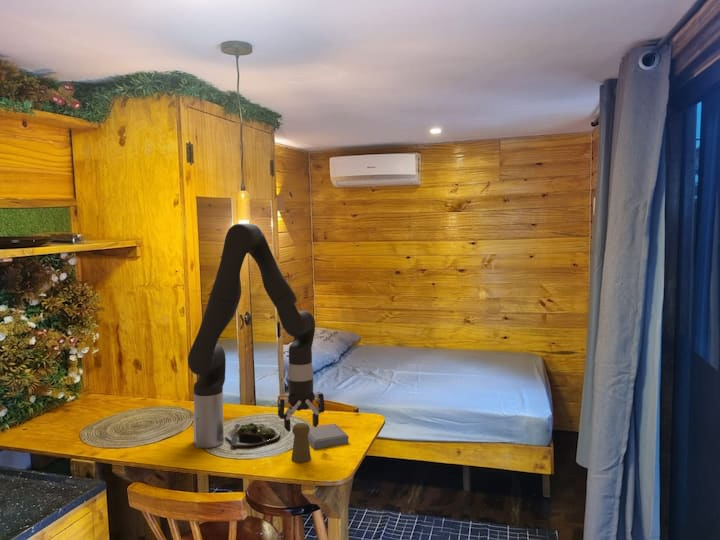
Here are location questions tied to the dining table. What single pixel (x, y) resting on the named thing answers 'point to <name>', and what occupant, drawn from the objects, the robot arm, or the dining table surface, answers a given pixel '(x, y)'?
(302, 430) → the brown pepper mill
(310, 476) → the dining table surface
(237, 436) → the salad plate
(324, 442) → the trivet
